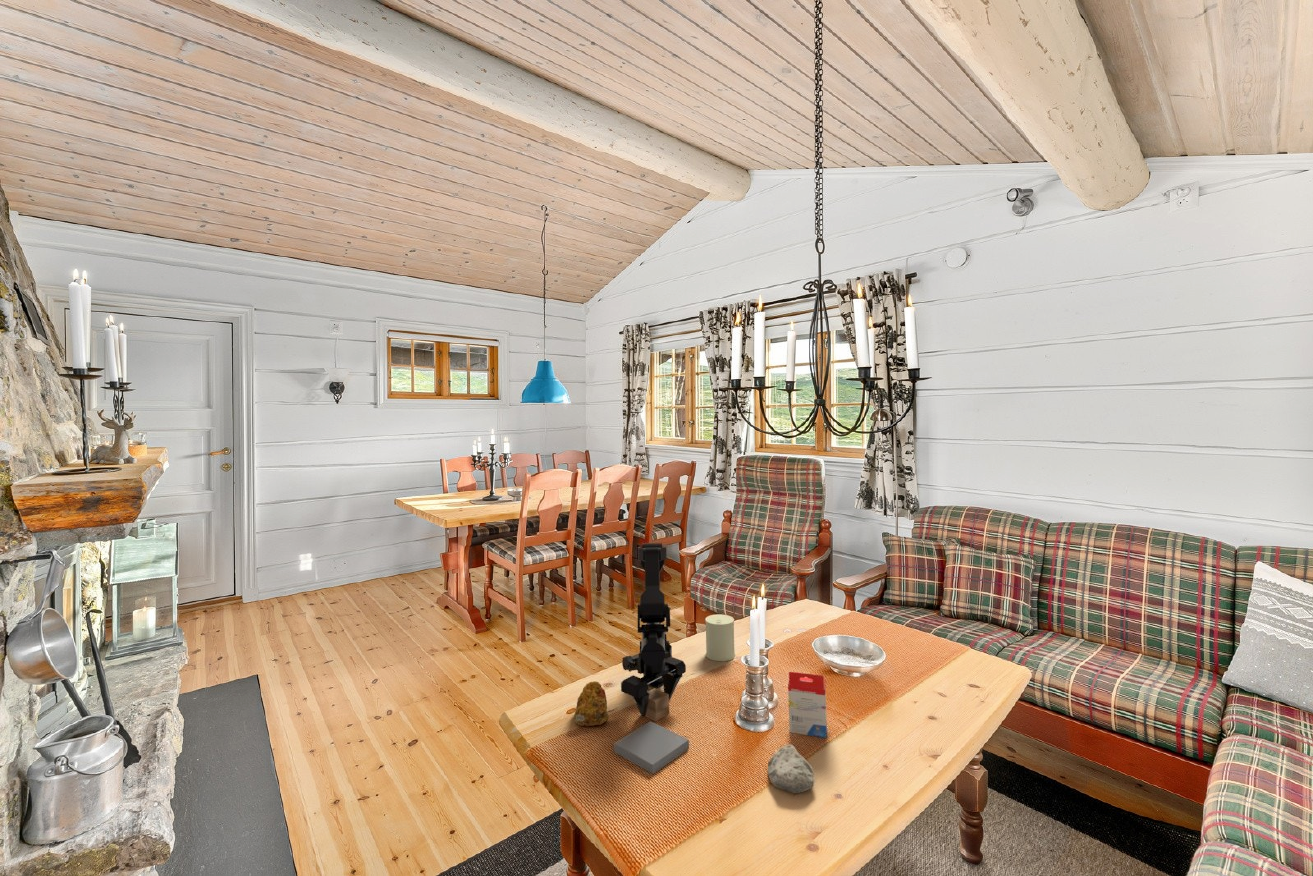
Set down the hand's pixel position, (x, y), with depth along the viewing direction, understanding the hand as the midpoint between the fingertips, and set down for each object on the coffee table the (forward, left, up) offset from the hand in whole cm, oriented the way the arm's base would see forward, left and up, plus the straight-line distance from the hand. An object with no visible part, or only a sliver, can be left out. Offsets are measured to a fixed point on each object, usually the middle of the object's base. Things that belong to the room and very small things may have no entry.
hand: (655, 709), depth 140 cm
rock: (+11, -12, -2) cm, 16 cm away
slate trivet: (+12, +10, -1) cm, 16 cm away
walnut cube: (0, 0, -1) cm, 1 cm away
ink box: (-18, +33, -1) cm, 38 cm away
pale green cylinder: (-39, -8, -1) cm, 40 cm away
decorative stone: (0, +38, -2) cm, 38 cm away
